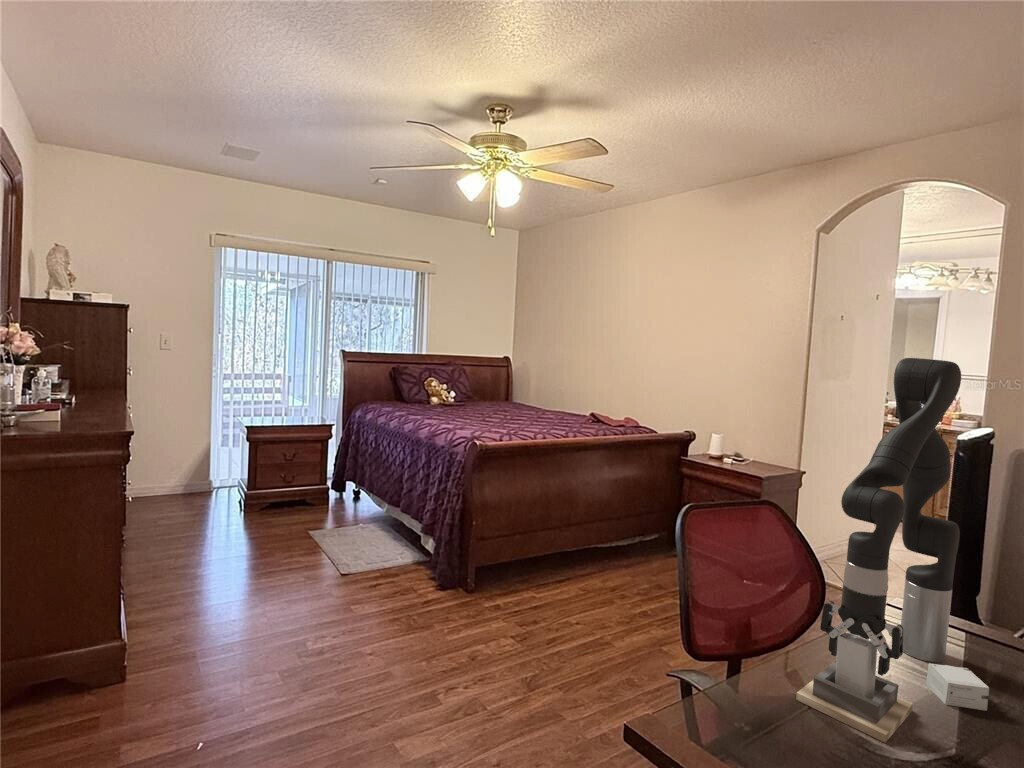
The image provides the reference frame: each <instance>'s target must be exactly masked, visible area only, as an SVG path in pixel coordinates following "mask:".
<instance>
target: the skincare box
mask: <svg viewBox="0 0 1024 768" xmlns="http://www.w3.org/2000/svg"><path fill="white" fill-rule="evenodd" d="M877 652H878V649H877V648H876V647H875V646H874V645H873V643H872V642H871V640H870V639H864V638H862V637H861V636H859V635H854V634H851V633H850V632H849V631H846V632H845V631H844V632H842V633H841V634H839V636H838V642H837V656H836V660H835V661H836V678H835V684H837V685H839V686H842V687H844V688H846V689H849V690H851V691H853V692H855V693H858V694H860V695H862V696H864V697H867V698H869V699H871V700H872V699H873V698H874V690H875V675H876V673H877V672H876V671H877V658H878V657H877V656H878V653H877ZM876 676H877V675H876Z"/></svg>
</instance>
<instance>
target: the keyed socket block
mask: <svg viewBox="0 0 1024 768" xmlns="http://www.w3.org/2000/svg"><path fill="white" fill-rule="evenodd" d="M835 678H836V660H835V661H834V662H832V663H831V664H830V665H829V666H827V667H826V668H825V669H823V670H822V671H821V672H820V673H818V674H817V675H816V676H814V677H813V679H812V680H811V681H810V682H808V683H807V684H805V686H803V687H802V688H800V690H798V691H797V692H796V698H795V699H796V700H795V701H798V702H800V703H802V704H804V705H805V706H808V707H810V708H812V709H814V710H817V711H819V712H820V713H823V714H824V715H826V716H830V717H831V718H833V719H835V720H837V721H839V722H842V723H843V724H846V725H847V726H849V727H851V728H853V729H856V730H858V731H860V732H862V733H864V734H866V735H868V736H870V737H872V738H874V739H877V740H879V741H880V742H882V743H887V742H888V740H889V739H890V738H892V735H894V734H895V732H896V731H897V730H898V728H899V727H900V726H901V725H902V724H903V723H904V721H905V720H906V719H907V718H908V717H909V716H910V715H911V713H912V711H913V708H914V707H913V706H914V703H912V702H911V701H908V700H905V699H904V698H903V699H902V698H900V697H898V693H899V684H898V683H895V682H893V681H890V680H888V679H885V678H883V677H881V676H878V675H875V690H874V698H873V699H872V700H871V699H869V698H867V697H864V696H862V695H860V694H858V693H855V692H853V691H851V690H849V689H846V688H844V687H842V686H839V685H837V684H835Z"/></svg>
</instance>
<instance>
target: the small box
mask: <svg viewBox="0 0 1024 768" xmlns="http://www.w3.org/2000/svg"><path fill="white" fill-rule="evenodd" d="M926 675H927V676H926V685H927V687H928V688H929V689H930V690H931V691H932V692H933V693H934V695H936V696H937V698H938V699H939V700H941V701H942V703H943V704H944V705H945V706H954V707H959V708H967V709H973V710H979V711H988V703H989V694H990V687H989V686H988V685H987V684H986V683H984V682H983V680H981V678H979V677H978V676H976V674H974V672H973V671H972V670H970V668H967V667H960V666H959V667H958V666H953V665H947V664H944V665H943V664H936V663H931V662H929V663H928V666H927V674H926Z"/></svg>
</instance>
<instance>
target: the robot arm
mask: <svg viewBox="0 0 1024 768" xmlns="http://www.w3.org/2000/svg"><path fill="white" fill-rule="evenodd" d="M894 369H895V370H894V373H893V391H894V398H895V402H896V403H895V404H896V410H897V415H898V423H899V424H898V425H896V426H895V427H893V428H892V429H890V430H888V431H887V433H885V434H884V436H882V438H881V439H880V441H879V442H878V444H877V446H876V448H875V450H874V452H873V453H872V455H871V459H870V461H869V463H868V464H867V465H866V467H865V468H864V469H862V470H861V472H860V473H859V474H858V475H857V476H856V477H855V478H854V479H853V480H852V481H851V482H850V483H849V484H848V486H846V488H845V490H844V491H843V493H842V496H841V501H840V503H841V508H842V511H843V512H844V514H845V515H846V516H848V517H850V518H851V519H855V520H858V521H862V522H866V523H869V524H872V525H875V529H874V530H873V531H872V532H870V531H854V532H852V533H851V534H850V535H849V536H848V544H847V553H846V554H847V555H846V563H845V566H844V572H843V581H842V593H841V604H840V606H839V605H836V604H835V602H834V601H832V600H830V601H828V602H825V603H824V604H823V608H822V613H821V621H820V626H819V628H820V630H821V631H822V632H825V633H826V634H828V636H829V640H828V651H829V652H830V655H831V656H832V657H833V656H834V657H837V642H838V636H840V635H841V634H843V633H844V632H845V631H847V632H849V633H851V634H854V635H857V636H859V637H862V638H864V639H867V640H869V641H871V642H872V643H873V645H874V646H875V647H876V648H877V652H879V655H880V656H879V657H878V667H877V675H879V676H880V677H883V676H884V675H886V674H888V672H889V671H890V667H891V666H890V665H891V659H894V660H899V658H900V657H902V656H903V654H904V653H905V654H907V655H908V656H910V657H913V658H915V659H917V660H920V661H921V660H922V661H925V662H929V663H942V662H944V661H945V660H946V653H947V643H948V636H949V635H948V634H949V624H950V615H951V606H952V605H951V604H952V597H953V587H954V586H953V584H954V578H955V577H954V575H955V568H956V561H957V556H958V550H959V544H960V534H961V532H960V527H959V525H958V524H957V523H956V522H955V521H953V520H947V519H942V518H938V517H933V516H930V515H929V516H928V515H924V514H922V513H921V510H922V508H923V507H924V506H925V505H926V504H927V502H928V501H929V500H931V498H933V497H934V496H935V495H936V494H938V493H939V491H941V490H942V489H943V488H944V487H945V486H946V485H947V483H948V482H949V480H950V478H951V452H950V448H949V446H948V445H947V443H946V441H945V439H944V438H943V437H942V436H941V434H940V433H939V432H938V431H937V430H936V427H937V426H938V424H939V423H940V421H942V419H943V418H944V416H945V414H946V413H947V411H948V410H949V408H950V407H951V406H952V404H953V402H954V401H955V400H956V399H955V398H956V396H957V395H958V393H959V390H960V387H961V382H962V371H961V368H960V366H959V365H958V364H957V363H956V362H954V361H951V360H950V361H949V360H939V359H931V358H929V359H928V358H920V357H919V358H918V357H904V358H902V359H901V360H899V361H898V363H897V364H896V367H895V368H894ZM921 403H924V405H923V406H922V404H921ZM901 486H902V495H903V496H900V494H899V493H897V492H895V491H892V490H888V489H883V488H885V487H886V488H888V487H893V488H894V487H901ZM901 522H902V523H901ZM900 525H902V526H901V536H902V537H901V538H902V543H903V546H904V548H905V549H906V550H908V551H910V552H913V553H916V554H921V555H924V556H928V557H933V558H935V559H936V558H937V562H934V563H931V564H916V565H910V566H908V567H907V568H906V570H905V579H904V589H903V601H902V609H901V619H900V620H901V621H900V624H897V625H895V624H891V623H888V622H887V620H886V617H885V616H886V606H887V597H888V596H887V595H888V590H889V572H888V568H889V559H890V551H891V550H890V549H891V546H892V543H893V540H894V538H895V535H896V533H897V530H898V529H899V526H900ZM837 613H838V614H837ZM835 614H837V615H839V618H840V619H841V621H842V623H841V624H839V625H837V626H836V627H833V626H832V622H833V616H834V615H835ZM884 630H886V631H887V632H888V633H887V634H888V636H890V637H891V648H890V645H889V644H888V643H887V639H886V637H885V635H884V633H883V631H884Z"/></svg>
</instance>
